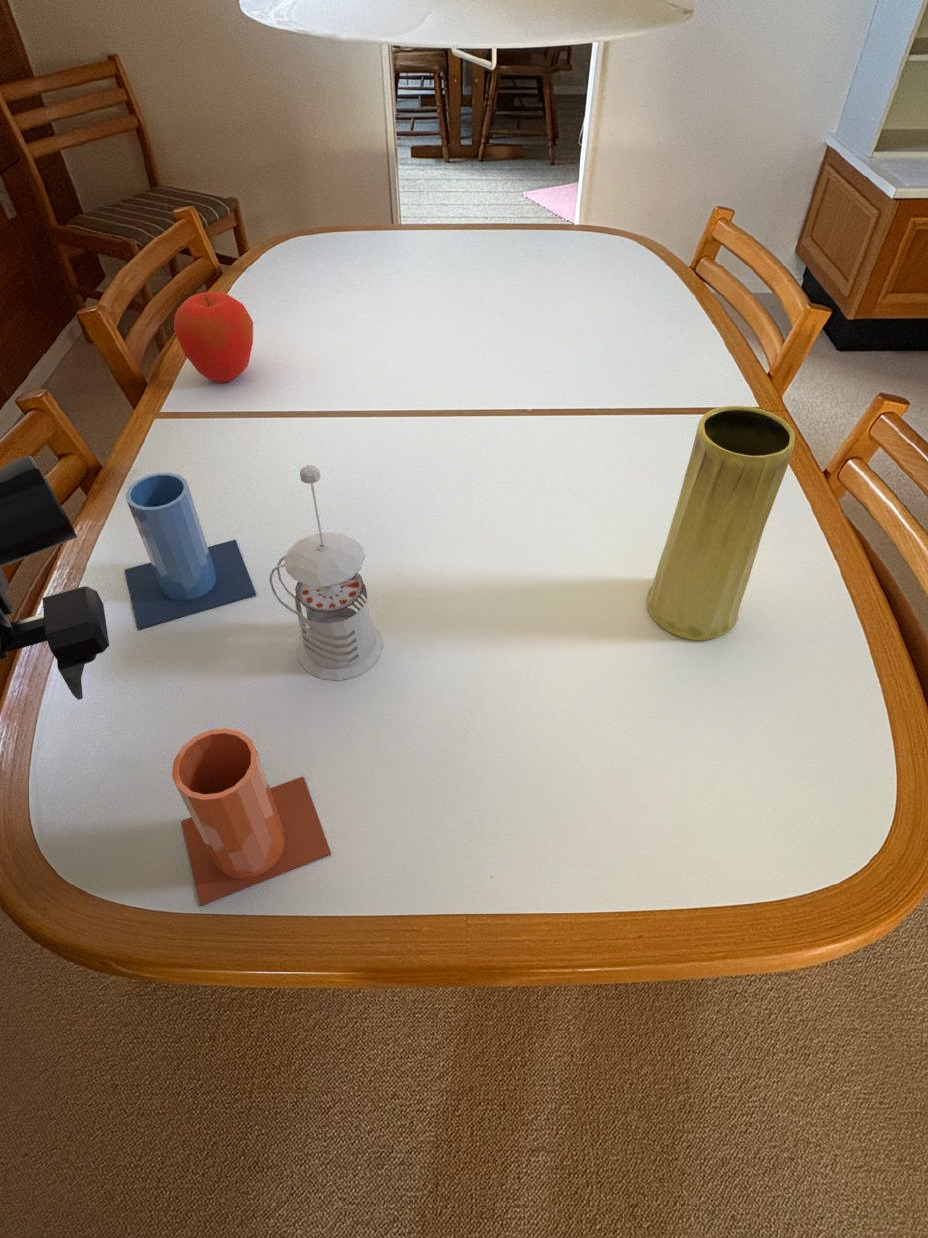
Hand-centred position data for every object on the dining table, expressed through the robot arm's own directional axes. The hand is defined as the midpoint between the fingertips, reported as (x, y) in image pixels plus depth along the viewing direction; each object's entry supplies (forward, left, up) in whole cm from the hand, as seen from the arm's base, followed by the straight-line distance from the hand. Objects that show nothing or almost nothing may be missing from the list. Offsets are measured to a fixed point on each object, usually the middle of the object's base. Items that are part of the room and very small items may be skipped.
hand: (25, 712), depth 69 cm
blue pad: (+16, +24, -12) cm, 31 cm away
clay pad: (+15, -13, -12) cm, 23 cm away
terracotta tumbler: (+14, -14, -12) cm, 23 cm away
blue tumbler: (+16, +24, -12) cm, 31 cm away
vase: (+70, -5, -12) cm, 71 cm away
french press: (+29, +7, -12) cm, 32 cm away
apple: (+31, +71, -12) cm, 79 cm away
